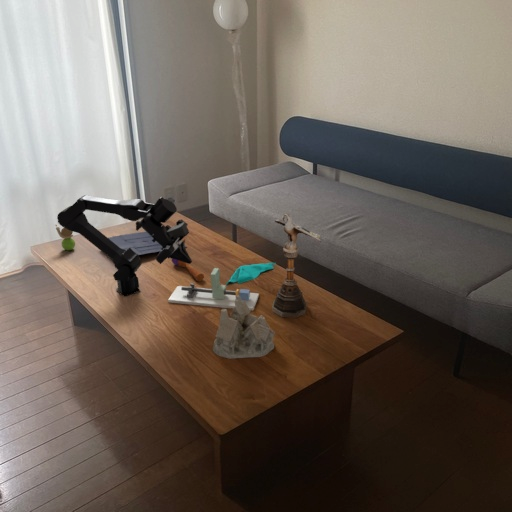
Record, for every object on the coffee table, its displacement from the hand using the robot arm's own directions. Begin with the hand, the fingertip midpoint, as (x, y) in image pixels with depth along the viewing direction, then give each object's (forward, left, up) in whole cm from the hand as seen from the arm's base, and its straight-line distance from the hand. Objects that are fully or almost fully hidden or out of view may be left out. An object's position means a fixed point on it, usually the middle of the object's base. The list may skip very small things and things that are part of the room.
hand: (190, 262), depth 175 cm
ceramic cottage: (-4, -35, -14) cm, 38 cm away
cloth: (+27, +2, -14) cm, 31 cm away
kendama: (+9, +19, -14) cm, 25 cm away
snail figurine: (-20, +68, -14) cm, 72 cm away
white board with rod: (+5, -6, -13) cm, 15 cm away
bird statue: (+23, -26, -14) cm, 38 cm away
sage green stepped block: (+6, -7, -12) cm, 15 cm away
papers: (+6, +50, -14) cm, 52 cm away
